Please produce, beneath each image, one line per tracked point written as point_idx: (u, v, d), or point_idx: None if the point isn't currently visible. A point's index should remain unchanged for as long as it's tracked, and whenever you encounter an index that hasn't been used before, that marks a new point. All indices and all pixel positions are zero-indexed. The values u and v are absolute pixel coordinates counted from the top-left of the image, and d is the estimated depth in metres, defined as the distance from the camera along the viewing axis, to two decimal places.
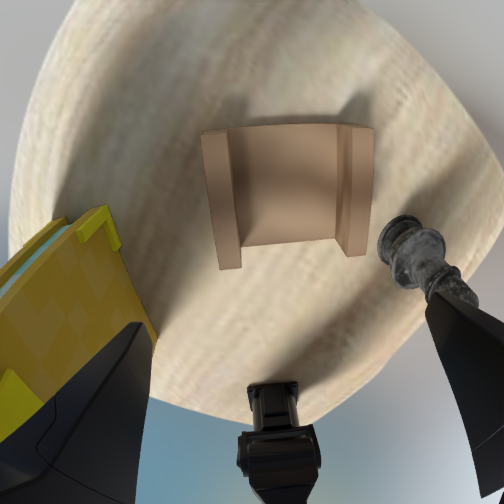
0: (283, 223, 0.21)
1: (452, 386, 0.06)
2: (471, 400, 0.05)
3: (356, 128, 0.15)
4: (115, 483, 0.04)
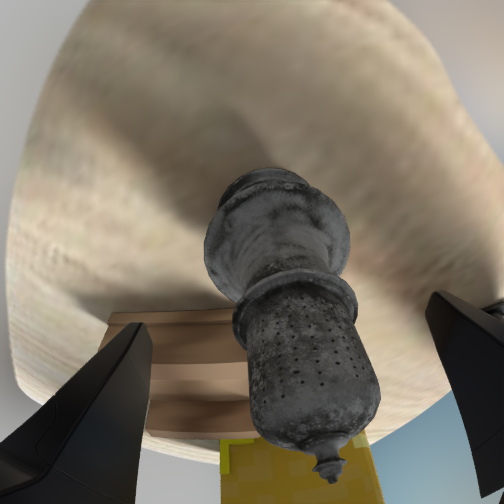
0: None
1: (452, 386, 0.06)
2: (471, 400, 0.05)
3: None
4: (115, 483, 0.04)
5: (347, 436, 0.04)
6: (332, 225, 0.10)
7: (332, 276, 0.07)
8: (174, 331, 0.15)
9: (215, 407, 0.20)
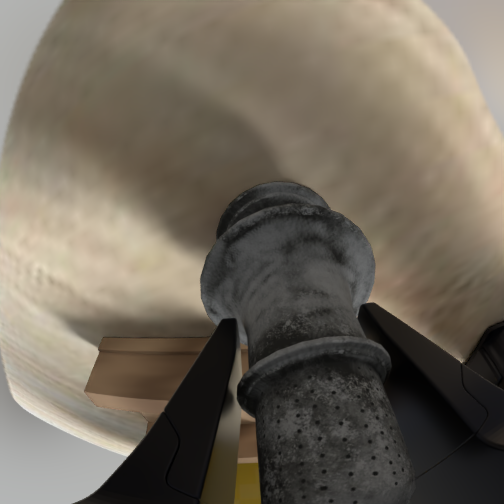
0: None
1: None
2: None
3: None
4: (228, 496, 0.04)
5: None
6: (357, 257, 0.08)
7: (367, 344, 0.05)
8: (170, 361, 0.13)
9: None
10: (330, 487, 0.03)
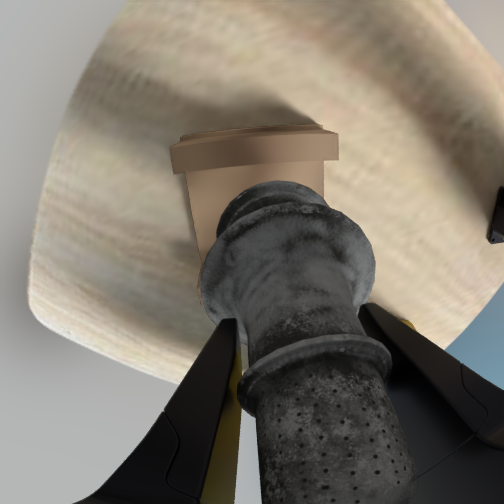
0: None
1: None
2: None
3: (174, 168, 0.14)
4: (228, 496, 0.04)
5: None
6: (357, 256, 0.08)
7: (368, 342, 0.05)
8: (255, 132, 0.16)
9: None
10: (332, 486, 0.03)
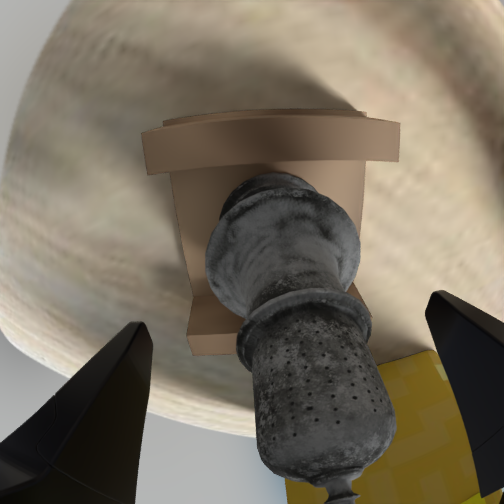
0: None
1: (452, 386, 0.06)
2: (471, 400, 0.05)
3: (148, 165, 0.09)
4: (115, 483, 0.04)
5: (361, 470, 0.04)
6: (342, 235, 0.09)
7: (347, 296, 0.06)
8: (273, 115, 0.10)
9: None
10: (315, 407, 0.04)
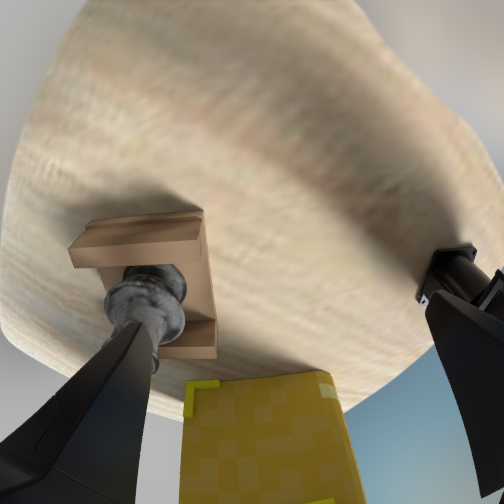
0: (189, 288, 0.21)
1: (452, 386, 0.06)
2: (471, 400, 0.05)
3: None
4: (115, 483, 0.04)
5: None
6: (166, 304, 0.17)
7: None
8: (139, 227, 0.18)
9: None
10: None
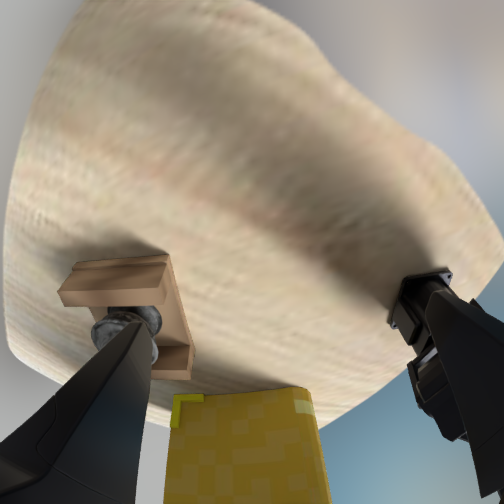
0: (164, 320, 0.23)
1: (452, 386, 0.06)
2: (471, 400, 0.05)
3: (63, 302, 0.18)
4: (115, 483, 0.04)
5: None
6: None
7: None
8: (114, 271, 0.20)
9: None
10: None
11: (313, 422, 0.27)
